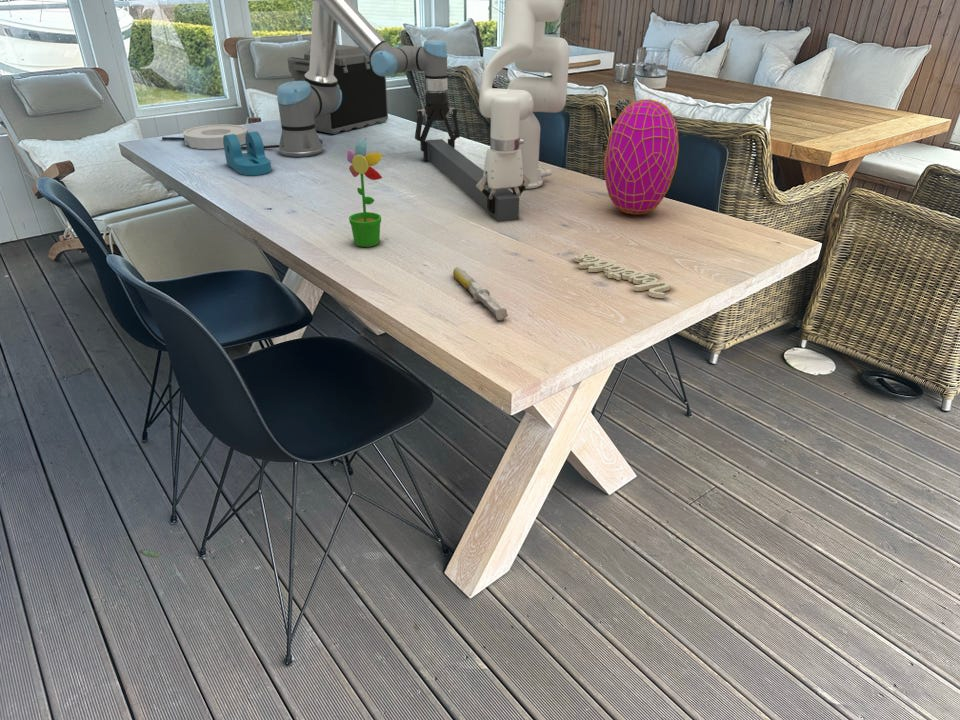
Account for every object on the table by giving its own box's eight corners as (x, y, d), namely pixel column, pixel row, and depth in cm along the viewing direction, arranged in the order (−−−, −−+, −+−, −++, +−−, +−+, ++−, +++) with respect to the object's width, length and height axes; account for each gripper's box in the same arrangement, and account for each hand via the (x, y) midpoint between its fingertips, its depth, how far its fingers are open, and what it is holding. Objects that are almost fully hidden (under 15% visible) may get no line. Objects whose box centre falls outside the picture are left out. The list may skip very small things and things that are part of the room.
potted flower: (390, 240, 173) (384, 138, 160) (373, 250, 166) (366, 145, 154) (358, 234, 176) (350, 134, 163) (341, 244, 170) (331, 141, 157)
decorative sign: (686, 282, 150) (660, 295, 144) (686, 286, 150) (659, 300, 144) (592, 249, 166) (565, 259, 160) (592, 253, 167) (565, 263, 161)
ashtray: (199, 134, 271) (197, 123, 269) (257, 135, 271) (255, 124, 268) (174, 148, 251) (172, 137, 249) (237, 149, 251) (235, 138, 249)
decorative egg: (646, 228, 182) (662, 110, 167) (585, 212, 193) (596, 100, 178) (681, 212, 194) (699, 100, 179) (622, 197, 206) (635, 91, 190)
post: (518, 219, 188) (519, 197, 185) (498, 221, 186) (498, 199, 183) (442, 156, 246) (441, 139, 243) (426, 157, 244) (425, 140, 241)
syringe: (449, 274, 155) (449, 263, 153) (465, 272, 156) (464, 260, 154) (490, 323, 135) (491, 310, 133) (508, 319, 136) (508, 307, 134)
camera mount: (227, 164, 233) (221, 132, 227) (257, 160, 238) (252, 129, 233) (244, 176, 220) (239, 143, 215) (276, 172, 225) (271, 139, 220)
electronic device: (355, 114, 307) (349, 41, 292) (392, 121, 296) (388, 45, 281) (291, 128, 282) (281, 48, 266) (329, 136, 271) (321, 53, 255)
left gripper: (462, 88, 236) (463, 154, 248) (403, 91, 230) (406, 159, 241) (469, 91, 230) (469, 159, 241) (408, 94, 224) (411, 164, 235)
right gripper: (529, 139, 187) (526, 203, 196) (469, 143, 181) (468, 209, 191) (540, 145, 181) (536, 212, 190) (478, 150, 175) (477, 218, 185)
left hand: (438, 159), depth 241 cm, fingers open, 8 cm apart
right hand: (502, 210), depth 190 cm, fingers closed on post, 6 cm apart
